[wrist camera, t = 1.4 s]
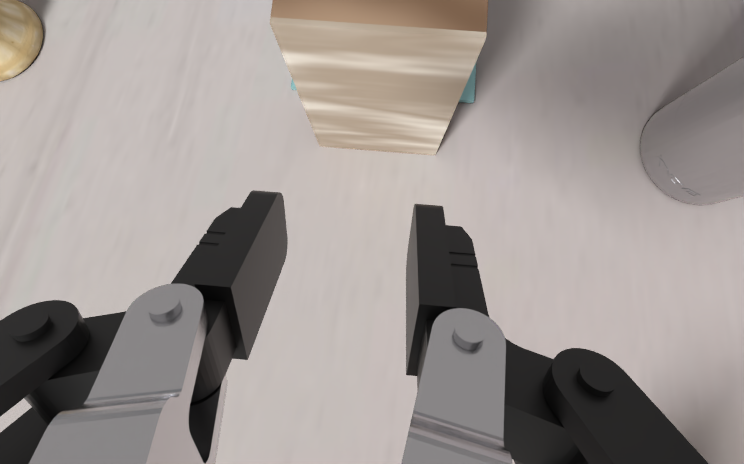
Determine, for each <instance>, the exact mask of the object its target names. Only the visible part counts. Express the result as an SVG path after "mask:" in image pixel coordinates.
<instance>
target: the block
mask: <svg viewBox="0 0 744 464" xmlns="http://www.w3.org/2000/svg"><path fill="white" fill-rule="evenodd" d="M487 13H488V0H273V3H272V10H271V18H270V25H271V27H272V30H273V32H274V35H275V37H276V40H277V42H278V45H279V47H280V49H281V52H282V54H283V57H284V59H285V62H286V64H287V67H288V69H289V72H290V74H291V77H292V79H293V82H294V84H295V86H296V89H297V91H298V94H299V96H300V99H301V101H302V104H303V106H304V109H305V111H306V114H307V116H308V119H309V121H310V123H311V126H312V128H313V131H314V133H315V136H316V138H317V141H318V143H319V146H321V147H334V148H347V149H360V150H372V151H385V152H398V153H411V154H424V155H436V152H437V150H438V148H439V145H440V143H441V141H442V139H443V136H444V134H445V132H446V129H447V127H448V125H449V123H450V120H451V118H452V116H453V113H454V111H455V109H456V106H457V104H458V102H459V100H460V97H461V95H462V93H463V90H464V88H465V86H466V84H467V81H468V79H469V77H470V74H471V72H472V70H473V68H474V65H475V63H476V61H477V58H478V56H479V54H480V51H481V49H482V47H483V45H484V42H485V40H486V34H487Z"/></svg>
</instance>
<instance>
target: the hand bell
mask: <svg viewBox="0 0 744 464" xmlns="http://www.w3.org/2000/svg"><path fill="white" fill-rule="evenodd" d="M42 40H43V30H42V25H41V22H40V19H39V17H38V16H37V14H36V13H35V12H34V11H33V10H32V9H31V8H30V7H29V6H27V5H26V4H24V3H22V2H20V1H17V0H0V81H3V80H7V79H10V78H13V77H15V76H16V75H18V74H20V73H21V72H23V71H24V70H25V69H26V68H27V67H28V66H29V65H30V64H31V63H32V62H33V60H34V59H35V58H36V56H37V55H38V53H39V50H40V48H41V45H42Z"/></svg>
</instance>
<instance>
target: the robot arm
mask: <svg viewBox="0 0 744 464" xmlns="http://www.w3.org/2000/svg"><path fill="white" fill-rule="evenodd" d="M640 150H641V158H642V161H643V165H644V168H645V169H646V171H647V173H648V175H649V177H650V178H651V179H652V181H653V182H654V183H655V184H656V186H657V187H659V188H660V189H661V190H662V191H663V192H664V193H666V194H667V195H669V196H671V197H673V198H674V199H676V200H679V201H682V202H685V203H688V204H696V205H707V204H714V203H718V202H722V201H726V200H730V199H734V198H738V197H742V196H744V57H743V58H741V59H739V60H738V61H736V62H735V63H733V64H732V65H730V66H728V67H727V68H725V69H724V70H722V71H720V72H719V73H717V74H716V75H714V76H712V77H711V78H709V79H708V80H706V81H705V82H703V83H701V84H700V85H698V86H696V87H695V88H693V89H691V90H690V91H688V92H687V93H685V94H684V95H682V96H680V97H679V98H677V99H676V100H674V101H672V102H671V103H669V104H668V105H666V106H665V107H663V108H661V109H660V110H659V111H658V112H656V113H655V114H654V115H653V116H652V117H651V118H650V120H649V121H648V122H647V124H646V126H645V128H644V130H643V133H642V137H641V143H640ZM286 254H287V230H286V220H285V210H284V200H283V196H282V194H281V193H278V192H265V191H251V192H250V194H249V196H248V197H247V199H246V200H245V202H244V204H243V205H242V207H241V208H232V207H231V208H230V209H228V210H227V211H225V212H224V213H222V214H221V215H219V216H218V217H216V218H215V220H214V221H213V223H212V224H211V226H210V227H209V229H208V230H207V234H204V236H203V237H202V239H201V240H200V242H199V245H197V246H196V248H195V249H194V251H193V252H192V253H191V255H190V256H189V258H188V259H187V261H186V262H185V264H184V265H183V267H182V268H181V270H180V271H179V273H178V274H177V275H176V277H175V278H174V280H173V281H172V283H171V284H167V285H163V286H159V287H156V288H154V289H151V290H149V291H147V292H146V293H144V294H142V295H141V296H139V297H138V298H137V299H136V300H135V301H134V302H133V303H132V304H131V305H130V306H129V308H128V310H127V311H125V312H121V313H114V314H108V315H102V316H95V317H89V318H82V316H81V314H80V313H79V311H78V309H77V308H76V307H75V306H74V305H73V304H71V303H69V302H66V301H59V300H53V301H44V302H39V303H36V304H32V305H30V306H27V307H24V308H22V309H20V310H18V311H16V312H14V313H12V314H10V315H9V316H7V317H5V318H4V319H2V320H1V321H0V416H1V415H3V414H4V413H5V412H7V411H8V410H9V409H10V408H12V407H13V406H14V405H16V404H17V403H18V402H19V401H21V400H22V399H23V398H25V399H26V401H27V402H28V403H29V404H30V405H31V406H32V408H31V409H29V410H28V411H27V412H26V413H24V414H23V415H22V416H21V417H19V418H18V419H17V420H16V421H14V422H13V423H12V424H11V425H9V426H8V427H7V428H6V429H5V430H3V431H2V432H1V433H0V464H215V462H216V455H217V449H218V442H219V436H220V429H221V422H222V416H223V409H224V403H225V396H226V390H227V377H226V372H227V369H228V367H229V365H230V362H231V360H232V358H233V359H244V360H248V358H249V355H250V352H251V350H252V347H253V344H254V342H255V339H256V336H257V334H258V331H259V328H260V326H261V323H262V320H263V318H264V315H265V312H266V310H267V307H268V304H269V302H270V299H271V296H272V294H273V291H274V288H275V286H276V283H277V280H278V278H279V275H280V273H281V270H282V267H283V265H284V262H285V258H286ZM477 267H478V265H477V260H476V257H475V251H474V247H473V242H472V239H471V238H470V237H469V235H468V234H467V233H466V232H465V231H464V229H463V228H462V227H460V226H448V225H445V218H444V211H443V206H435V205H422V204H415V205H414V209H413V216H412V223H411V230H410V238H409V245H408V253H407V265H406V375H413V376H417V385H418V393H417V397H416V402H415V406H414V410H413V415H412V419H411V423H410V428H409V432H408V437H407V441H406V446H405V450H404V455H403V459H402V464H512V459H514V461H515V464H708V463H707V461H706V460H705V459H704V458H703V457H702V456H701V455H700V454H699V453H698V452H697V450H696V449H695V448H694V447H693V446H692V445H691V444H690V443H689V442H688V441H687V440H686V438H685V437H684V436H683V435H682V434H681V433H680V432H679V431H678V430H677V429H676V427H675V426H674V425H673V424H672V423H671V422H670V421H669V420H668V419H667V418H666V416H665V415H664V414H663V413H662V412H661V411H660V410H659V409H658V408H657V407H656V405H655V404H654V403H653V402H652V401H651V400H650V399H649V398H648V397H647V396H646V394H645V393H644V392H643V391H642V390H641V389H640V388H639V387H638V386H637V385H636V383H635V382H634V381H633V380H632V379H631V378H630V377H629V376H628V375H627V374H626V373H625V372H624V371H623V370H622V369H621V368H620V367H619V366H618V365H617V364H616V363H614V362H613V361H611V360H610V359H608V358H607V357H605V356H603V355H601V354H599V353H596V352H594V351H590V350H587V349H581V348H572V349H566V350H564V351H562V352H560V353H559V354H558V355H557V356H556V357H555V358H554V359H551V358H548V357H545V356H543V355H540V354H537V353H534V352H532V351H529V350H526V349H524V348H521V347H519V346H517V345H515V344H513V343H511V342H510V341H509V340H507V339H506V338H505V337H504V334H503V332H502V330H501V329H500V328H499V326H498V325H497V324H496V323H495V322H494V321H493V320H492V319H490V318H489V315H488V311H487V306H486V302H485V297H484V292H483V288H482V283H481V279H480V274H479V270H478V269H477Z"/></svg>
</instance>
